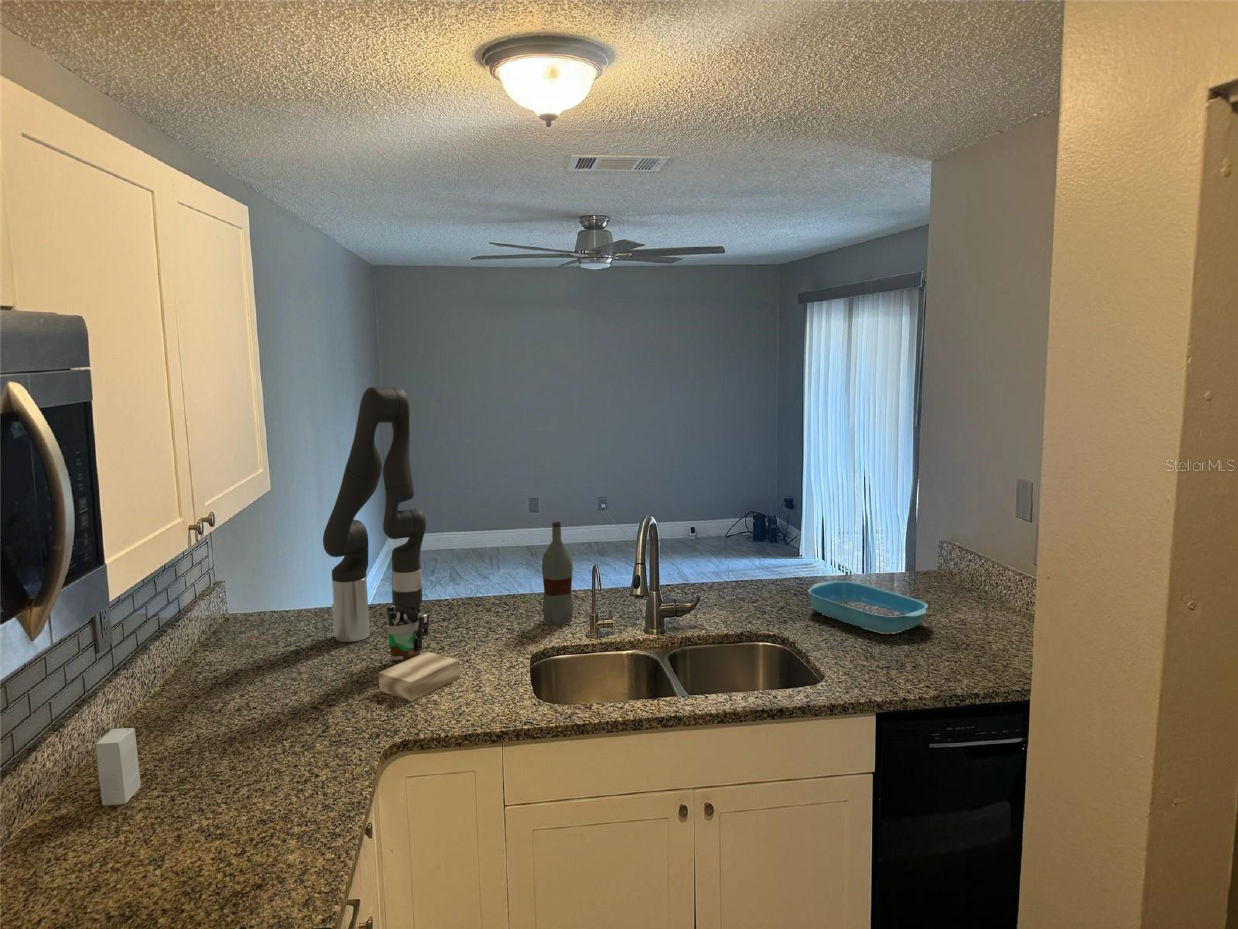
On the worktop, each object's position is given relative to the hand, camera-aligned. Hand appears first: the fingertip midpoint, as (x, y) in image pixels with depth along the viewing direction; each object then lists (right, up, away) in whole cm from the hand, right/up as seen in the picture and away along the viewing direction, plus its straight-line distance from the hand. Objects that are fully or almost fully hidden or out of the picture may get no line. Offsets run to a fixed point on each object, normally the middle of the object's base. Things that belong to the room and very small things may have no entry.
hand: (409, 648), depth 218 cm
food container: (+1, -2, 0) cm, 2 cm away
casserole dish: (+128, +2, +31) cm, 132 cm away
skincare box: (-37, -13, -64) cm, 75 cm away
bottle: (+37, +1, +31) cm, 48 cm away
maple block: (+6, -6, -14) cm, 17 cm away
